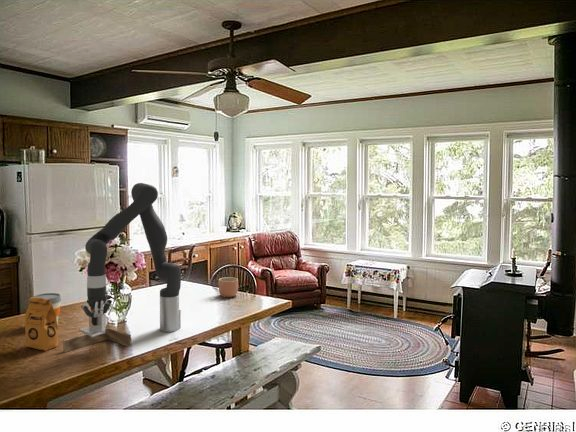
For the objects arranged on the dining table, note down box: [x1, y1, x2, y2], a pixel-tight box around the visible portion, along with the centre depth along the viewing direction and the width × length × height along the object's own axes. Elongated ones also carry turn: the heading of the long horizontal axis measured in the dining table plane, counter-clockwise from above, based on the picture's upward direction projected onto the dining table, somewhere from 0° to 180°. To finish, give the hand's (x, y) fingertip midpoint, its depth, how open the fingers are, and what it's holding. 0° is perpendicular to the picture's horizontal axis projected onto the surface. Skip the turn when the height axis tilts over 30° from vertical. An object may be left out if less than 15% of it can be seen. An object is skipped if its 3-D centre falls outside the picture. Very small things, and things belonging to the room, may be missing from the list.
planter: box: [218, 276, 239, 298], centre depth 285 cm, size 12×12×11 cm
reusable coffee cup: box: [33, 292, 62, 325], centre depth 223 cm, size 13×13×15 cm
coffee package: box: [24, 296, 59, 352], centre depth 195 cm, size 10×12×22 cm
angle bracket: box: [79, 311, 106, 337], centre depth 190 cm, size 10×6×8 cm, turn 54°
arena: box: [62, 326, 132, 353], centre depth 195 cm, size 22×16×5 cm
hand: (97, 324), depth 192 cm, fingers closed on angle bracket, 1 cm apart
